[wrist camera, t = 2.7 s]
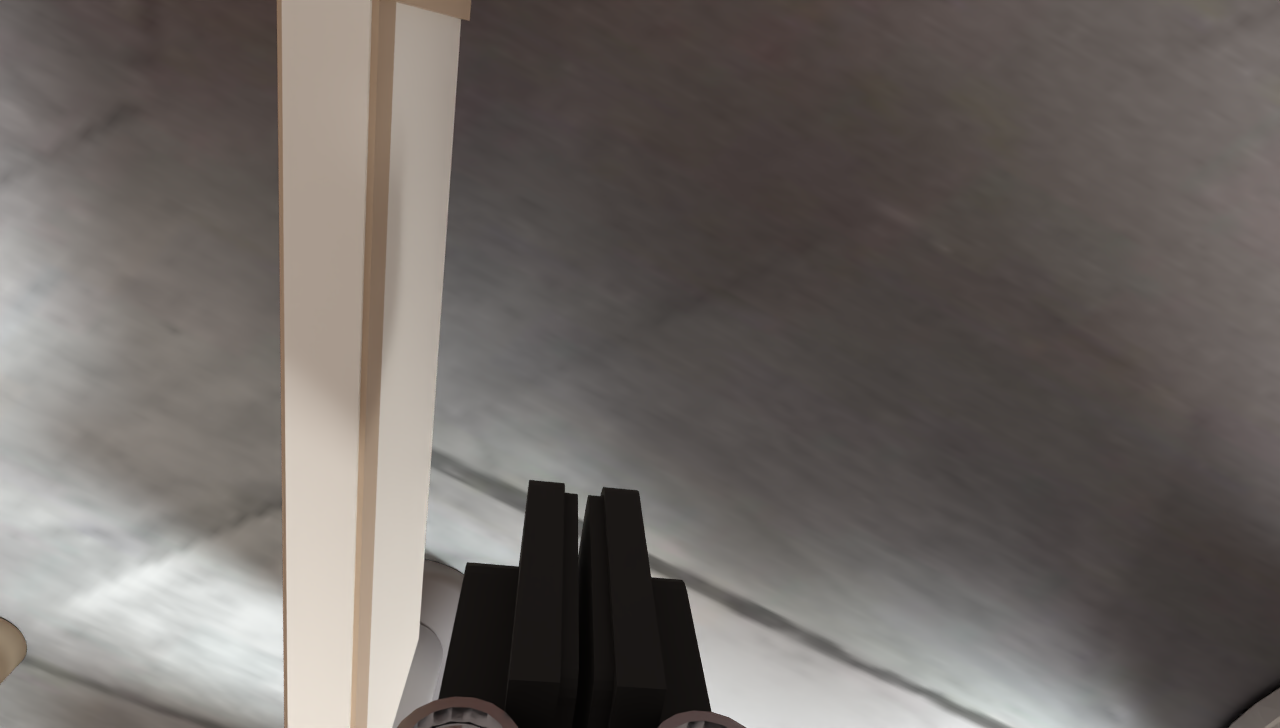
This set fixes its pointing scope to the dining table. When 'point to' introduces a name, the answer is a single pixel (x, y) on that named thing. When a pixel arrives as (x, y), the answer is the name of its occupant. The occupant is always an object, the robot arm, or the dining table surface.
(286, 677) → the gate
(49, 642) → the dining table surface
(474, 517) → the dining table surface
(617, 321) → the dining table surface
